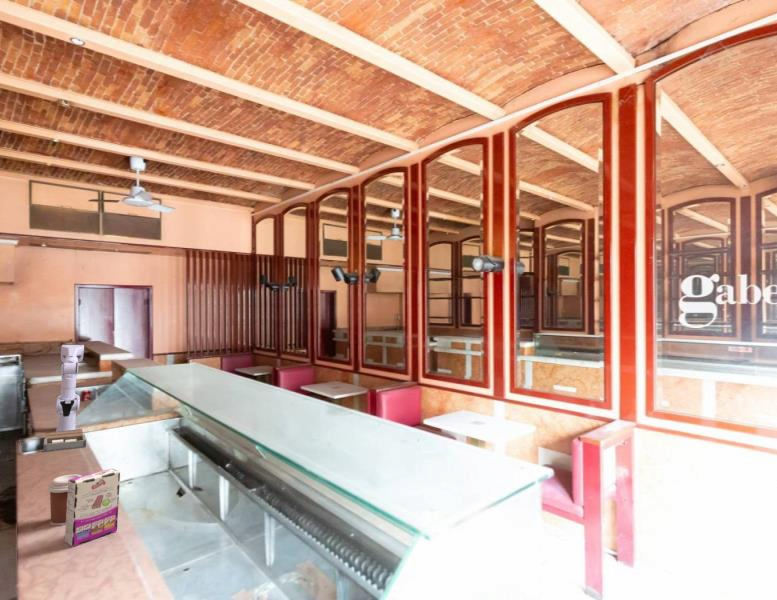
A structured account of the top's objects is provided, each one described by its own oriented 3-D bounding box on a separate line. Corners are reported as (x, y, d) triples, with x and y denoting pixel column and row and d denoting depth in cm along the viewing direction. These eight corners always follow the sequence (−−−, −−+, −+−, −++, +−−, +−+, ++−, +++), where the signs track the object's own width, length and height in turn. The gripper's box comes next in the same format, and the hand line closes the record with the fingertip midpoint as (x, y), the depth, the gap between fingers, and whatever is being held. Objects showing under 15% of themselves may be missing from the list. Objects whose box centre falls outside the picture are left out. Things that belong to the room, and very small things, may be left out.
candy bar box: (108, 526, 125) (112, 467, 126) (117, 531, 122) (121, 471, 123) (62, 542, 115) (67, 478, 116) (71, 548, 113) (76, 482, 114)
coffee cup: (42, 519, 128) (46, 477, 128) (80, 511, 134) (83, 470, 135) (46, 531, 121) (50, 486, 122) (86, 521, 127) (89, 479, 128)
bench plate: (45, 437, 210) (46, 432, 210) (81, 434, 218) (81, 429, 219) (45, 444, 199) (45, 439, 199) (82, 440, 207) (83, 435, 208)
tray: (43, 445, 198) (44, 438, 198) (84, 440, 207) (84, 434, 208) (43, 451, 189) (43, 444, 189) (85, 447, 198) (86, 440, 198)
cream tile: (52, 442, 194) (51, 447, 194) (63, 441, 197) (62, 445, 197) (52, 440, 198) (51, 444, 198) (63, 439, 200) (62, 443, 200)
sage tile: (65, 442, 196) (64, 446, 196) (76, 441, 198) (75, 445, 198) (65, 439, 199) (65, 444, 199) (76, 438, 201) (76, 443, 201)
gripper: (57, 386, 215) (55, 414, 215) (58, 390, 204) (55, 420, 203) (75, 385, 220) (73, 412, 219) (76, 389, 208) (74, 418, 207)
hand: (66, 416), depth 211 cm, fingers closed
